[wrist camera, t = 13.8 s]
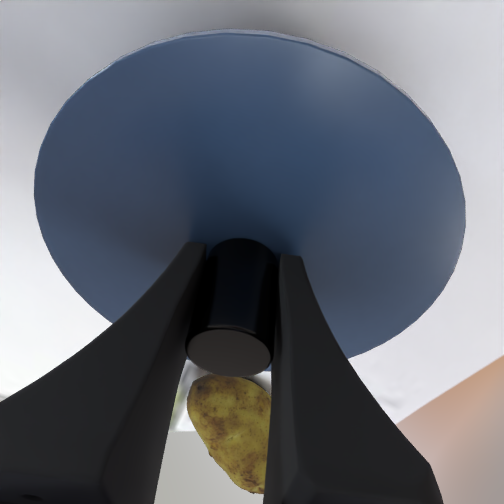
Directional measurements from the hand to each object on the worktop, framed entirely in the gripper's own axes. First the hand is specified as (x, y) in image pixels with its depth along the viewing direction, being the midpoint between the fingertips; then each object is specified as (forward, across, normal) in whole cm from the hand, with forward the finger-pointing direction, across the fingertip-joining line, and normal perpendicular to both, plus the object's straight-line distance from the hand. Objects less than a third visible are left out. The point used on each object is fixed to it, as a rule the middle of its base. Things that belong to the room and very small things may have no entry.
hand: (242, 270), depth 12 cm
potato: (+10, -2, +28) cm, 30 cm away
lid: (+1, 0, 0) cm, 1 cm away
